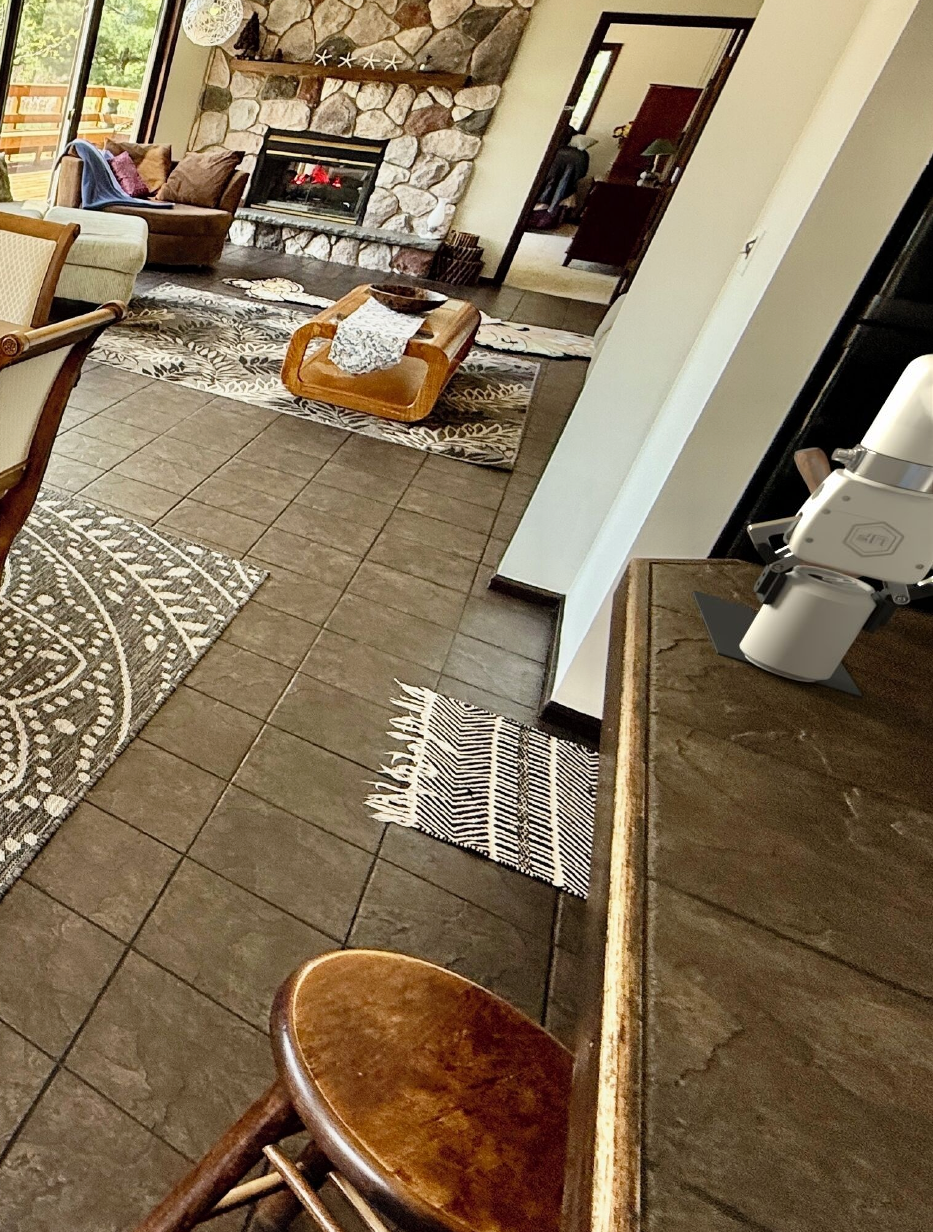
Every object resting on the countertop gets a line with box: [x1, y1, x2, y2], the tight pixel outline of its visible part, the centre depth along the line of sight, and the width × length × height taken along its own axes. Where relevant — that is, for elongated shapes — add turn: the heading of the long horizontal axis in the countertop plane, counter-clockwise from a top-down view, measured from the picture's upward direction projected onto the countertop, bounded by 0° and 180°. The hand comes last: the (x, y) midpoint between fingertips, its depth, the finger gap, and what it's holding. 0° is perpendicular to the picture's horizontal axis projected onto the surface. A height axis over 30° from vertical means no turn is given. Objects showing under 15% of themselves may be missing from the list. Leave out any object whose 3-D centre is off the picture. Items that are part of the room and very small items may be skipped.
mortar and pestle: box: [791, 447, 864, 579], centre depth 121 cm, size 12×9×20 cm
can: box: [740, 565, 876, 683], centre depth 104 cm, size 8×8×12 cm
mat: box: [691, 589, 863, 698], centre depth 113 cm, size 12×20×1 cm, turn 142°
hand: (812, 612), depth 104 cm, fingers closed on can, 7 cm apart
